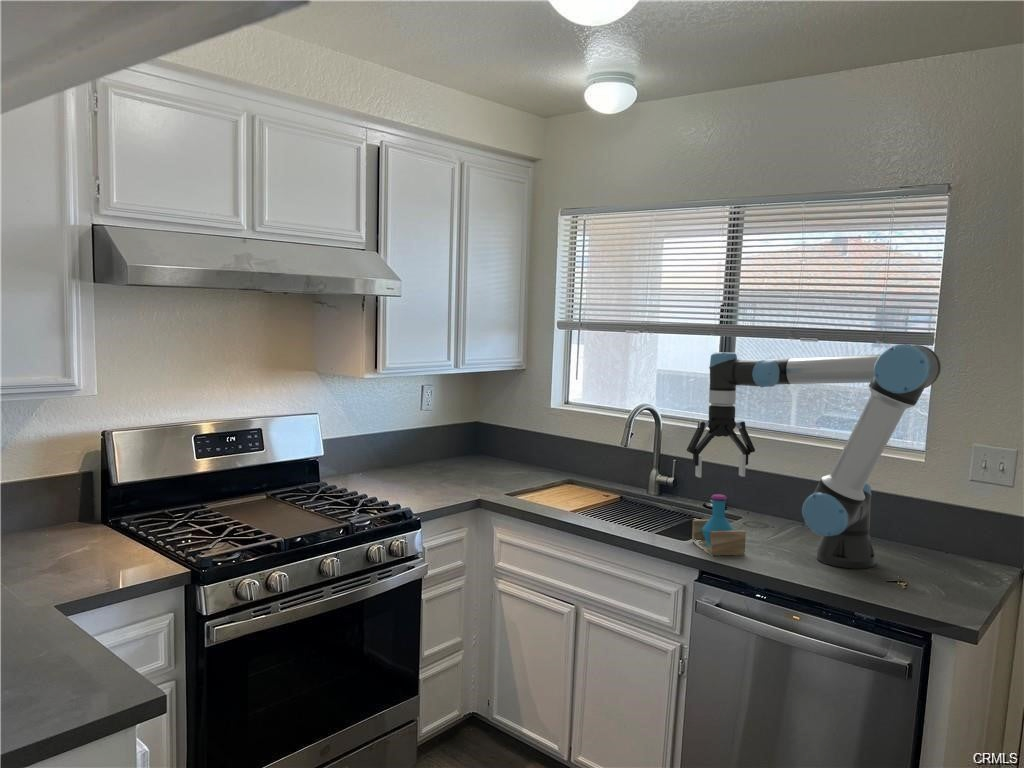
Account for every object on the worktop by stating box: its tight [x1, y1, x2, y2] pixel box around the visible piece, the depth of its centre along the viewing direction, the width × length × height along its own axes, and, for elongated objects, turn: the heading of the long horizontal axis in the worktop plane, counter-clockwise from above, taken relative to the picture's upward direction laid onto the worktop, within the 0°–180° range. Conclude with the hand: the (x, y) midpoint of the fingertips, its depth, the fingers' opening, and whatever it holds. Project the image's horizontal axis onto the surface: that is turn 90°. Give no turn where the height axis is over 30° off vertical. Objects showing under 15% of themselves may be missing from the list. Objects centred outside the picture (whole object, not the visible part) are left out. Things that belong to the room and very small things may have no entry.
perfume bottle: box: [702, 493, 734, 547], centre depth 224 cm, size 9×9×15 cm
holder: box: [691, 518, 747, 556], centre depth 224 cm, size 15×10×7 cm, turn 8°
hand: (720, 476), depth 223 cm, fingers open, 13 cm apart
